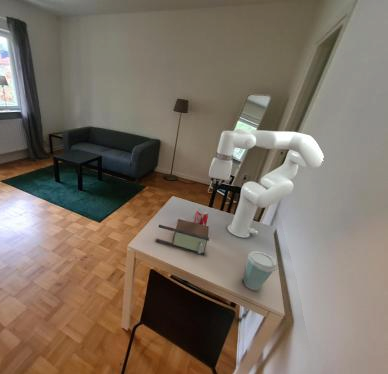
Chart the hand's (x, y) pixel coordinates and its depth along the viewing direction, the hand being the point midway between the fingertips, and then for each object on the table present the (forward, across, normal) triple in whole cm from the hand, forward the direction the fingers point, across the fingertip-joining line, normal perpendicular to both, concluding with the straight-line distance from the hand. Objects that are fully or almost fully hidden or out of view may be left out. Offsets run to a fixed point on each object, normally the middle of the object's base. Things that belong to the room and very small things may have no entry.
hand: (214, 190), depth 112 cm
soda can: (+27, +3, -2) cm, 28 cm away
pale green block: (+26, +7, +21) cm, 34 cm away
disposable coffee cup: (+27, -22, +30) cm, 46 cm away
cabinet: (+27, +11, +15) cm, 33 cm away
